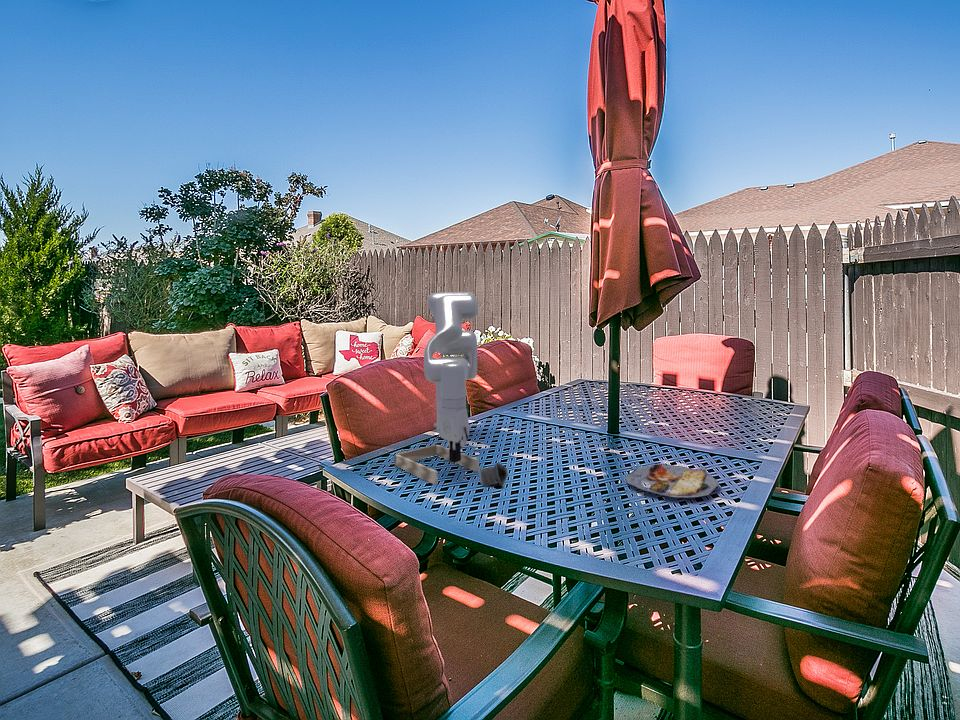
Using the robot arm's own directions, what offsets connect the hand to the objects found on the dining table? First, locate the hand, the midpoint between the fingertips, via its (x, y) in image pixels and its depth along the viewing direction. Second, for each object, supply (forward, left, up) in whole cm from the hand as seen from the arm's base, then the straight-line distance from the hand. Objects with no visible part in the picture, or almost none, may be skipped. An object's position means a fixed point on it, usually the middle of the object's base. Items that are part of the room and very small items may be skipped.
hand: (455, 460), depth 156 cm
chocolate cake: (+11, +6, -5) cm, 13 cm away
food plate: (+49, +41, -5) cm, 64 cm away
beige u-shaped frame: (-9, 0, -5) cm, 11 cm away
